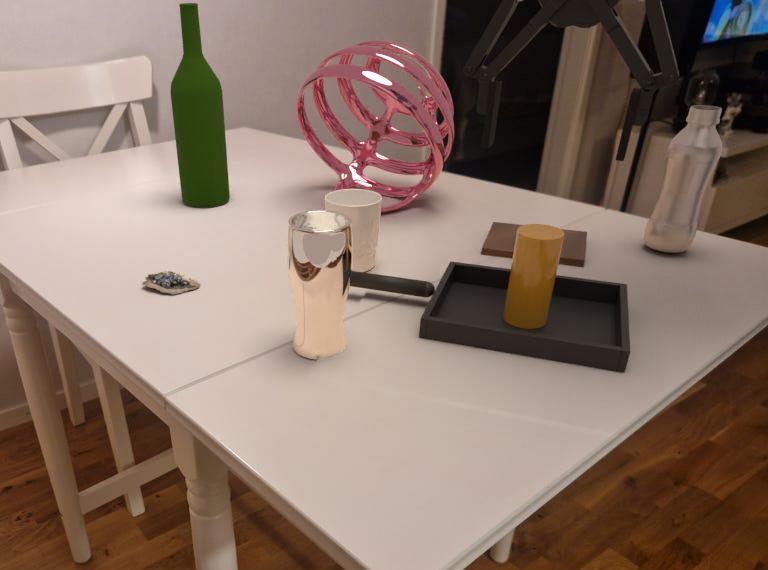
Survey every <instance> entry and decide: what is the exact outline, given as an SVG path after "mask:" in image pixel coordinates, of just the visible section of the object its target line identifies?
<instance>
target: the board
mask: <svg viewBox="0 0 768 570" xmlns="http://www.w3.org/2000/svg"><path fill="white" fill-rule="evenodd" d="M523 225H524V224H517V223H509V222H508V223H507V222H498V221H493V222H492V224H491V226H490V229H489V231H488V233H487V235H486V238H485V240H484V242H483V244H482V246H481V250H480V251H481V252H480V255H482V256H489V257H499V258H504V259H505V258H506V259H512V258H513V252H514V246H515V240H516V234H517V229H518V228H519V227H520V226H523ZM560 229H561V230H562V231H564V233H565V235H564V240H563V245H562V250H561V254H560V259H559V264H558V265H563V266H570V267H571V266H572V267H579V268H584V266H585V262H586V252H587V240H588V231H583V230H575V229H574V230H573V229H566V228H565V229H563V228H560Z"/></svg>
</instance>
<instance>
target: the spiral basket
mask: <svg viewBox="0 0 768 570" xmlns="http://www.w3.org/2000/svg"><path fill="white" fill-rule="evenodd" d="M356 55H357V56H365V57H367V59H366V61H365V66H360V65H355V64H352V61H353V59H354V57H356ZM403 56H404V57H403ZM339 57H340V58H339ZM405 57H406V58H409V59H411V60H413V61H415V62H416V63H417V64H418V65H420V66H421V67H422V68H423V69H424V70H425V72H426V73H427V74H428V75H427V74H426V73H425V72H424V71H423V70H422V69H420V68H419V67H418V65H416V64H414V63H413V62H411V61H410V60H409V59H406V58H405ZM336 58H339V60H338V62H337V63H334V64H330V63H331V62H332V61H333V60H335V59H336ZM382 62H385V63H387V64H390V65H391V66H393V67H395V68H397V69H399V70H400V71H402V72H403V73H405V74H406V75H408V76H409V77H410V78H412V79H413V80H414V81H416V82H417V83H418V84H419V85H420V86H418V87H417V91H418V94H419V96H420V99H421V101H420V100H418V99H417V98H416V97H415V96H414V95H413V94H412V93H411V92H409V90H407V89H406V88H405V86H404V85H401V84H399V83H398V82H396V81H394V80H393V79H391V78H390V77H388V76H386V75H384V74H382V73H380V68H381V63H382ZM332 78H333V79H335V80H336V84H337V88H338V92H339V94H340V97H341V99H342V101H343V103H344V104H345V106H346V108H347V109H348V110H349V112H350V113H351V114H352V116H354V118H355V119H356V120H357V121H358V122H359V123H360V124H361V125H363V126H364V127H365V128H366V129H367V131H368V136H367V138H366V139H365V140H364V141H360V140H358V139H357V138H355V137H354V136H353V135H352V134H351V133H350V132H349V131H348V130H347V129H346V128H345V127H344V126H343V124H342V123H341V122H340V120H339V119H338V118H337V117H336V115H335V114H334V112H333V110H332V109H331V106H330V105H329V102H328V100H327V96H326V92H325V87H324V79H332ZM352 81H355V82H358V83H359V84H360V83H361V84H364V85H365V86H368V87H369V88H370V90H371V91H372V93H373V94H374V95H375V97H376V98H377V99H378V100H379V101H380V102H381V103H382V104H383V105H384V106H385V109H384V112H383V113H382V115H381V116H375V115H374V114H373V113H372V112H371V111H370V110H369V109H368V107H366V106H365V105H364V104H363V102H362V101H361V99H360V98H359V97H358V95H357V92H356V91H355V89H354V86H353V84H352ZM310 85H311V93H312V99H313V103H314V107H315V108H316V112H317V114H318V116H319V118H320V119H321V121H322V122H323V123H322V124H324V126H325V127H326V129H327V130H328V131H329V132H330V134H331V135H332V136H333V137H334V138H335V139H336V141H337V142H339V144H341V145H342V146H343V147H344V148H345V149H346V150H347V151H348V152H350V154H351V155H352V161H351V162H350V163H348V164H347V163H344V162H343V161H342V160H340V159H338V158H337V157H336V156H335V155H334V154H333V153H332V152H331V151H330V150H329V149H328V147H326V146H325V145H324V143H323V141H321V139H320V138H319V137H318V135H317V134H316V132H315V131H314V129H313V127H312V125H311V122H310V121H309V118H308V116H307V115H308V114H307V113H306V107H305V93H306V90H307V88H308V87H309V86H310ZM422 88H423V89H422ZM424 90H425V91H426V92H427V93H428V94H429V96H428V95H427V93H426V92H425V91H424ZM438 108H439V110H440V112H441V114H442V116H443V121H442V122H441V123H440V124H439V123H438V121H437V116H436V112H437V110H438ZM454 110H455V107H454V102H453V97H452V93H451V91H450V88H449V87H448V85H447V82H446V81H445V79H444V78H443V76H442V75H441V73H440V72H439V71H438V69H437V68H436V67H435V66H434V65H433V63H431V62H430V61H429V60H428V59H427V58H425V57H424V56H422V55H421V54H420V53H419V52H417V51H415V50H414V49H412V48H410V47H408V46H406V45H403V44H401V43H398V42H395V41H390V40H386V39H369V40H368V39H367V40H363V41H360V42H357V43H355V44H353V45H350V46H349V45H348V46H345V47H342V48H339V49H337V50H335V51H333V52H331V53H330V54H328V55H327V56H326V57H324V59H322V60H321V62H320V63H319V64H318V66H316V69H315V70H314V71H312V72H311V73H310V74H309V75H308V76H307V77H306V78H305V79H304V81H303V82H302V84H301V86H300V88H299V90H298V92H297V95H296V100H295V115H296V119H297V122H298V127H299V129H300V130H301V133H302V135H303V137H304V139H305V141H306V142H307V144H308V145H309V147H310V148H311V149H312V150H313V152H314V153H315V154H316V156H318V157H319V159H320V160H321V161H322V162H323V163H324V164H325V165H326V166H328V167H329V168H330V169H331V170H332V171H334V172H335V173H336V175H338V177H339V180H338V182H337V184H336V185H335V187H334V189H332V191H331V192H333V191H336V190H342V189H352V188H354V187H357V188H359V189H364V190H370V191H374V192H376V193H379V194H380V195H381V196H384V197H390V198H405V199H403V200H402V201H400V202H398V203H395V204H392V205H388V206H381V214H385V213H389V212H390V213H391V212H394V211H396V210H399V209H402V208H403V207H405V206H407V205H409V204H411V203H412V202H413V201H415V200H416V199H417V198H418V197H419V196H421V195H422V194H423V193H425V192H426V191H427V190H428V189H429V188H431V186H433V185H434V183H435V182H436V181H437V180H438V179H439V177H440V175H441V173H442V171H443V169H444V164H445V162H446V161H447V159H448V158H449V156H450V155H451V152H452V149H453V146H454V142H455V133H456V132H455V131H456V130H455V121H454V120H455V119H454V117H455V115H454V114H455V111H454ZM395 114H399V115H400V114H401V115H403V116H407V117H412V119H413V120H414V121H415V122H416V123H417V124H418V126H419V127H420V129H421V130H422V132H412V131H411V132H410V131H405V130H401V129H398V128H395V127H394V126H392V125H391V121H392V117H393V116H394V115H395ZM447 135H448V139H447V144H446V146H445V145H444V138H446V136H447ZM382 141H387V142H390V143H392V144H395V145H398V146H402V147H407V148H425V147H427V148H429V154H428V157H427V158H426V159H425V160H422V161H404V160H398V159H394V158H391V157H388V156H386V155H383V154H381V153H380V152H378V145H379V144H380V142H382ZM369 166H371V167H374V168H378V169H379V170H382V171H384V172H389V173H392V174H397V175H403V176H420V175H421V176H422V178H421V179H420V181H419V182H418V183H417V184H415V185H413V186H397V185H390V184H387V183H386V184H385V183H382V182H379V181H376V180H373V179H372V178H371V179H370V178H368V177H367V176H365V174H363V173H364V169H365V168H367V167H369Z"/></svg>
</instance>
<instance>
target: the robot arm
mask: <svg viewBox="0 0 768 570" xmlns="http://www.w3.org/2000/svg"><path fill="white" fill-rule="evenodd" d="M523 1H524V0H501V2H500V4H499V6H497V7H498V8H497V9H496V11H495V12H494V14H493V16H492V17H491V19H490V21H489V23H488V25H487V26H486V28H485V30H484V32H483V34H482V35H481V37H480V39H479V40H478V42H477V44H476V46H475V47H474V49H473V51H472V52H471V54H470V56H469V58H468V59H467V61H466V63H465V65H464V66H463V69H462V72H463V74H464V75H465V76H466V77H471V78H472V79H475V80H476V81H477V82H478V93H477V104H476V113H477V115H482V116H483V115H484V122H483V123H484V124H483V131H482V138H481V147H480V148H481V149H486V150H487V149H489V148H490V147H492V146H493V145H494V143H495V139H496V131H497V123H498V117H499V108H500V102H501V101H500V100H501V94H502V93H501V92H502V86H503V81H502V80H501V81H500V80H495V79H496V78H497V76H498V75H499V74H500V73H501V72H502V71H503V70H504V69H505V68H506V67H507V66H508V65H509V64H510V63H511V62H512V61H513V60H514V58H516V57H517V56H518V55H519V53H520V52H521V51H522V50H523V49H525V47H526V46H527V45H528V44H529V43H530V42H532V40H533V39H534V38H535V37H536V36H537V35H538V34H539V33H540V32H541V31H542V30H543V29H544V28H545V27H546V26H547V25H548V24H551V25H552V26H554V27H555V28H558V29H559V28H561V29H564V28H568V27H572V26H573V27H576V28H580V29H591V28H593V27H595V26H597V25H599V24H600V25H601V26H602V27H603V29H604V31H605V32H606V33H607V35H608V36H609V38H610V39H611V41H612V43H613V44H614V46H615V48H616V49H617V51H618V52H619V55H620V56H621V57H622V59H623V61H624V62H625V64H626V66H627V68H628V69H629V70H630V73H631V74H632V76H633V77H634V79H635V80H636V82H637V84H638V86H639V87H632V90H631V92H630V96H629V101H628V105H627V109H626V113H625V117H624V122H623V126H622V130H621V134H620V139H619V143H618V148H617V151H616V156H615V161H619V162H624V161H625V158H626V155H627V152H628V146H629V143H630V139H631V136H632V135H631V134H632V130H633V127H634V126H638V127H639V126H640V127H644V125H645V123H646V122H647V120H648V117H649V112H650V109H651V106H652V100H653V96H654V94H655V93H656V91H658V90H659V89H661V88H665V87H668V86H669V87H670V86H674V85H676V84H677V83H678V82H679V79H680V71H679V67H678V63H677V59H676V54H675V50H674V46H673V43H672V40H671V34H670V31H669V27H668V22H667V18H666V16H665V11H664V7H663V2H662V0H637V1H638V2H640V3H643V2H644V8H645V14H646V18H647V21H648V25H649V28H650V33H651V37H652V40H653V45H654V49H655V52H656V55H657V59H658V65H659V67H660V71H661V72H657V73H654V72H653V70H652V69H651V67H650V66H649V63H648V62H647V60H646V59H645V57H644V55H643V54H642V52H641V50H640V49H639V47H638V46H637V43H636V42H635V41H634V39H633V38H632V36H631V34H630V32H629V30H628V28H626V25H625V24H624V22H623V20H622V18H621V16H620V15H619V13H618V11H617V9H616V8H615V7H616V6H617V5H618V4H619V3H620V2H621V1H622V0H537V1H538V2H539V4H540V7H541V8H540V10H538V12H537V13H536V14H535V15H534V16H533V17H532V18H531V19H530V20H529V21H528V22H527V24H526V25H524V27H523V28H522V29H521V30H520V31H519V32H518V33H517V34H516V36H514V38H513V39H512V40H510V41H509V43H508V44H507V45H506V46H505V47H504V48H503V49H502V50H501V51H500V53H498V54H497V56H496V57H495V58H494V59H493V60H492V61H491V62H490V63H489V64H488V65H487V66H486V65H484V63H485V61H486V60H487V58H488V56H489V55H490V53H491V51H492V50H493V48H494V46H495V44H496V43H497V41H498V39H499V37H500V36H501V34H502V33H503V31H504V29H505V28H506V26H507V24H508V22H509V20H510V19H511V17H512V16H513V14H514V12H515V10H516V9H517V7H518V4H519V3H520V2H523Z"/></svg>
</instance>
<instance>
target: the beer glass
mask: <svg viewBox="0 0 768 570" xmlns="http://www.w3.org/2000/svg"><path fill="white" fill-rule="evenodd" d="M286 247H287V248H286V258H287V259H286V260H287V261H286V262H287V273H288V280H289V286H290V291H291V295H292V300H293V306H294V310H295V318H296V319H295V331H294V335H293V343H292V347H293V350H294V352H295V353H296V354H297V355H299V356H300V357H303V358H305V359H309V360H315V361H318V360H319V358H327V357H332V356H335V355H338V354H340V353H341V352H343V351H344V350H345V349H346V347H347V339H346V338H347V337H346V333H345V326H344V325H345V324H344V323H345V321H344V319H345V310H346V305H347V300H348V295H349V290H350V287H351V286H350V281H351V275H352V266H353V237H352V219H351V218H350V217H349V216H348V215H346V214H343V213H340V212H335V211H327V210H325V209H319V210H317V209H315V210H307V211H302V212H299V213H296V214H294V215H291V216H290V217H289V218H288V229H287V245H286Z"/></svg>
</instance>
